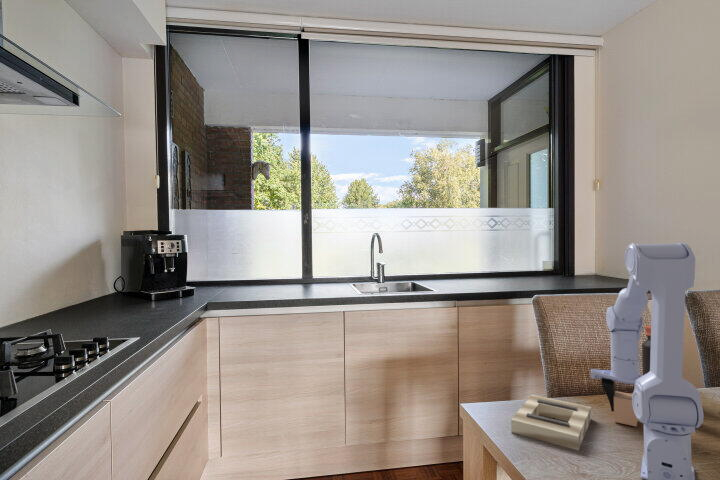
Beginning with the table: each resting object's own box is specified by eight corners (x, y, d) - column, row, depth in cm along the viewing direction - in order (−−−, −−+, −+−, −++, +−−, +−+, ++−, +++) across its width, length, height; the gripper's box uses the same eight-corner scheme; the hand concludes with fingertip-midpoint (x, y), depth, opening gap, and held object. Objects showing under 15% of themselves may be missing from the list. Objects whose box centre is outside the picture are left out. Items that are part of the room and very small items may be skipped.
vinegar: (674, 407, 104) (672, 331, 104) (642, 401, 108) (641, 328, 108) (673, 398, 110) (672, 326, 110) (643, 393, 114) (641, 323, 114)
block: (636, 426, 94) (636, 401, 94) (614, 421, 96) (613, 397, 96) (637, 419, 97) (637, 395, 97) (616, 414, 100) (615, 391, 100)
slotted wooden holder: (578, 450, 85) (578, 434, 85) (511, 432, 93) (511, 417, 93) (591, 418, 99) (591, 404, 99) (532, 405, 107) (531, 392, 107)
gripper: (662, 357, 96) (663, 414, 96) (592, 348, 104) (594, 400, 104) (661, 365, 90) (663, 425, 90) (588, 355, 99) (590, 409, 99)
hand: (625, 412), depth 97 cm, fingers closed on block, 4 cm apart
